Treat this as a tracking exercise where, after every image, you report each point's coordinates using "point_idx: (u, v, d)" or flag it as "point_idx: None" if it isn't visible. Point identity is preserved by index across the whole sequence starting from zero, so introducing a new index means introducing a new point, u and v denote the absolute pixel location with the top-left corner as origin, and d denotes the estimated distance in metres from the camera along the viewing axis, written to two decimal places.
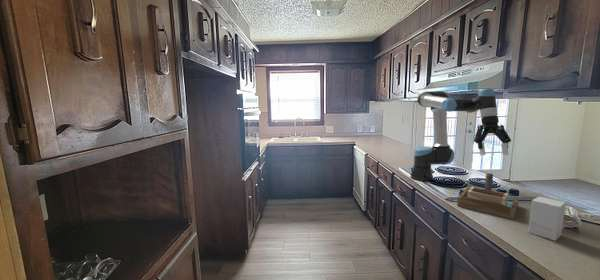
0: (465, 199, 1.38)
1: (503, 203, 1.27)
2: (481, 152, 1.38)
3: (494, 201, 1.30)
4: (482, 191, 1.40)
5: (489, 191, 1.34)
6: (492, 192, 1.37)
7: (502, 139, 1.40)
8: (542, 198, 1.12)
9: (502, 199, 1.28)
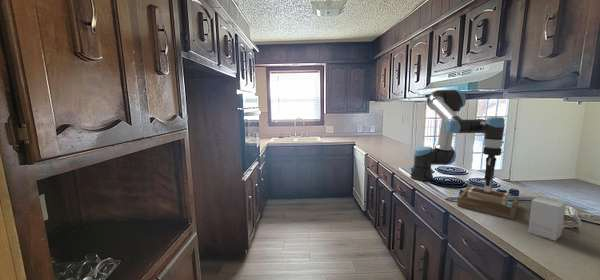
0: (465, 199, 1.38)
1: (503, 203, 1.27)
2: (486, 188, 1.34)
3: (494, 201, 1.30)
4: (482, 191, 1.40)
5: None
6: (492, 192, 1.37)
7: None
8: (542, 198, 1.12)
9: (502, 199, 1.28)
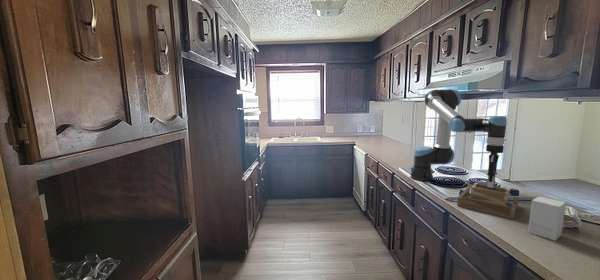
0: (465, 199, 1.38)
1: (505, 198, 1.34)
2: (489, 184, 1.41)
3: (497, 196, 1.37)
4: (485, 187, 1.47)
5: None
6: (495, 188, 1.44)
7: None
8: (542, 198, 1.12)
9: (504, 194, 1.34)
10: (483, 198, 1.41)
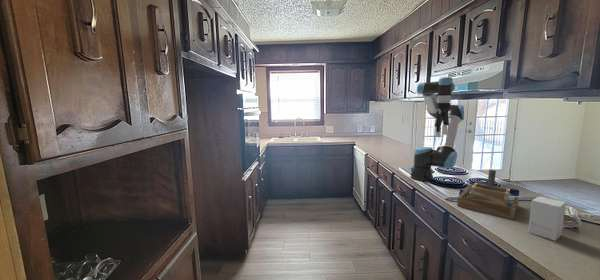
0: (465, 199, 1.38)
1: (505, 198, 1.34)
2: (437, 134, 1.59)
3: (497, 196, 1.37)
4: (485, 187, 1.47)
5: (492, 186, 1.41)
6: (495, 188, 1.44)
7: (445, 122, 1.67)
8: (542, 198, 1.12)
9: (504, 194, 1.34)
10: (483, 198, 1.41)
